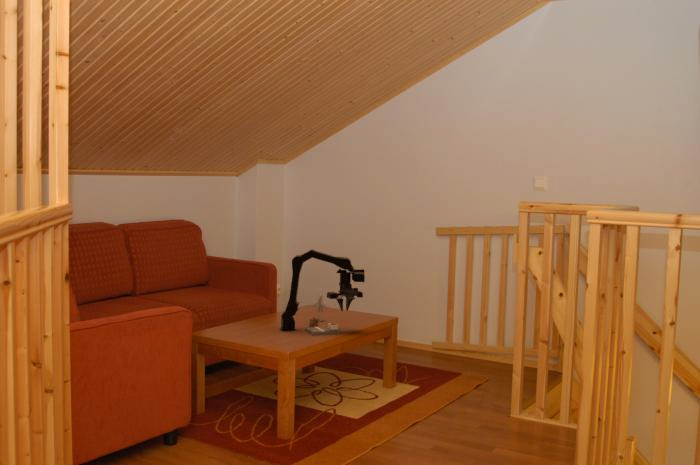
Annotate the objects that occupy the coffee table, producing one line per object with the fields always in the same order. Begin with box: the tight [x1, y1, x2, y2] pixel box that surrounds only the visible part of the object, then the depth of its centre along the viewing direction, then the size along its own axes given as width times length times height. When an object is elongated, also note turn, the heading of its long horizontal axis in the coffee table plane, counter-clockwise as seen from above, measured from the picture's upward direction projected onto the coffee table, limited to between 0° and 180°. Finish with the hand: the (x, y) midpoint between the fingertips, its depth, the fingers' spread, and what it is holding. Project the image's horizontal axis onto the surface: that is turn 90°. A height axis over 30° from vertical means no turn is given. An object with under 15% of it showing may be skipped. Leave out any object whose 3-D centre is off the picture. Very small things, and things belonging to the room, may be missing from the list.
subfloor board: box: [304, 325, 341, 336], centre depth 413 cm, size 15×12×2 cm
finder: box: [327, 322, 339, 330], centre depth 412 cm, size 4×5×3 cm
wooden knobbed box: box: [309, 316, 319, 327], centre depth 422 cm, size 4×4×6 cm
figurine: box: [311, 294, 330, 322], centre depth 440 cm, size 11×4×15 cm, turn 61°
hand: (344, 310), depth 414 cm, fingers open, 3 cm apart
